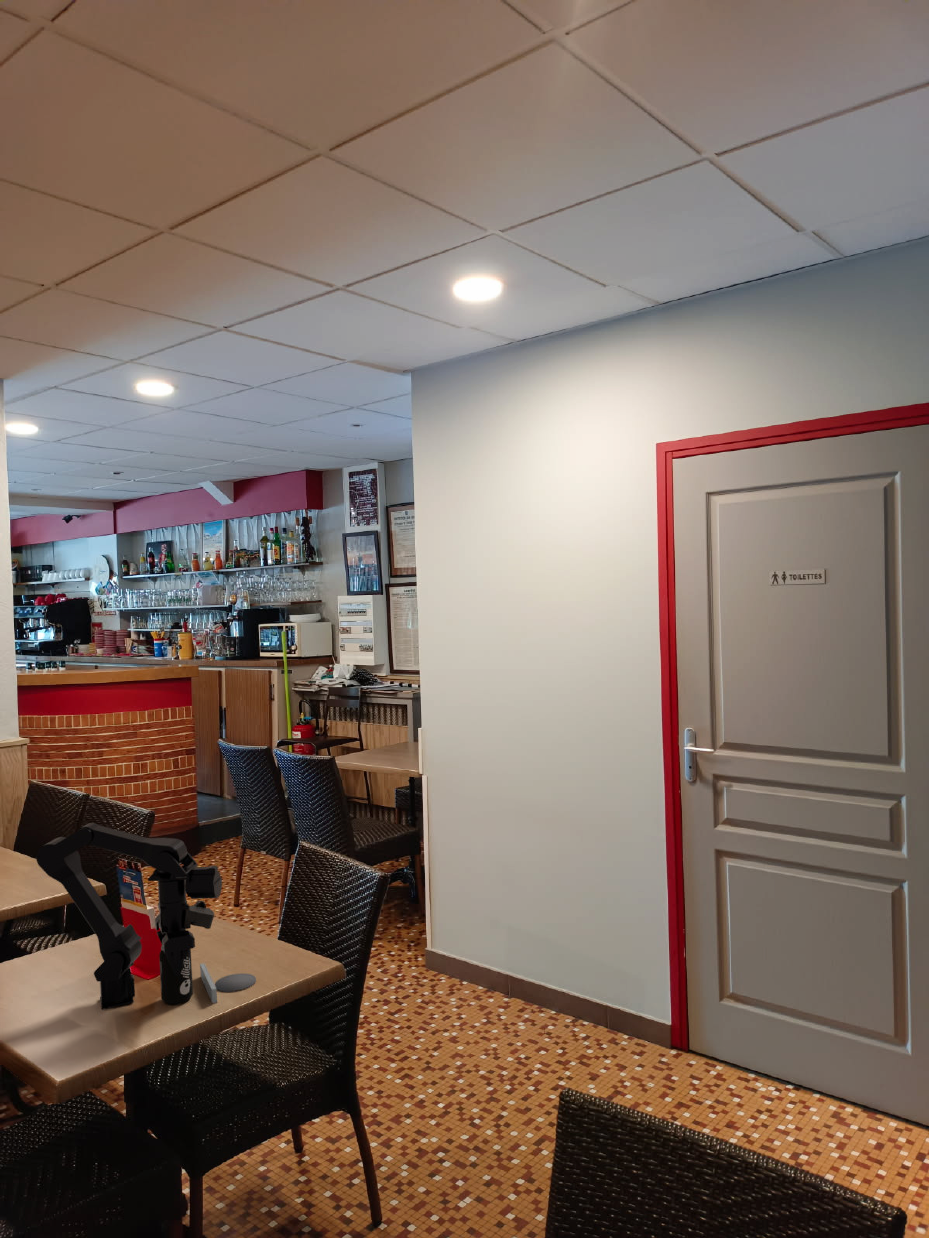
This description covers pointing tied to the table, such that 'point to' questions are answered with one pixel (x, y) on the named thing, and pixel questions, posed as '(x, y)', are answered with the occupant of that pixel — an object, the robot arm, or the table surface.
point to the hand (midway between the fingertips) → (175, 969)
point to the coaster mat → (235, 982)
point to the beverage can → (175, 980)
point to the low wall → (208, 983)
